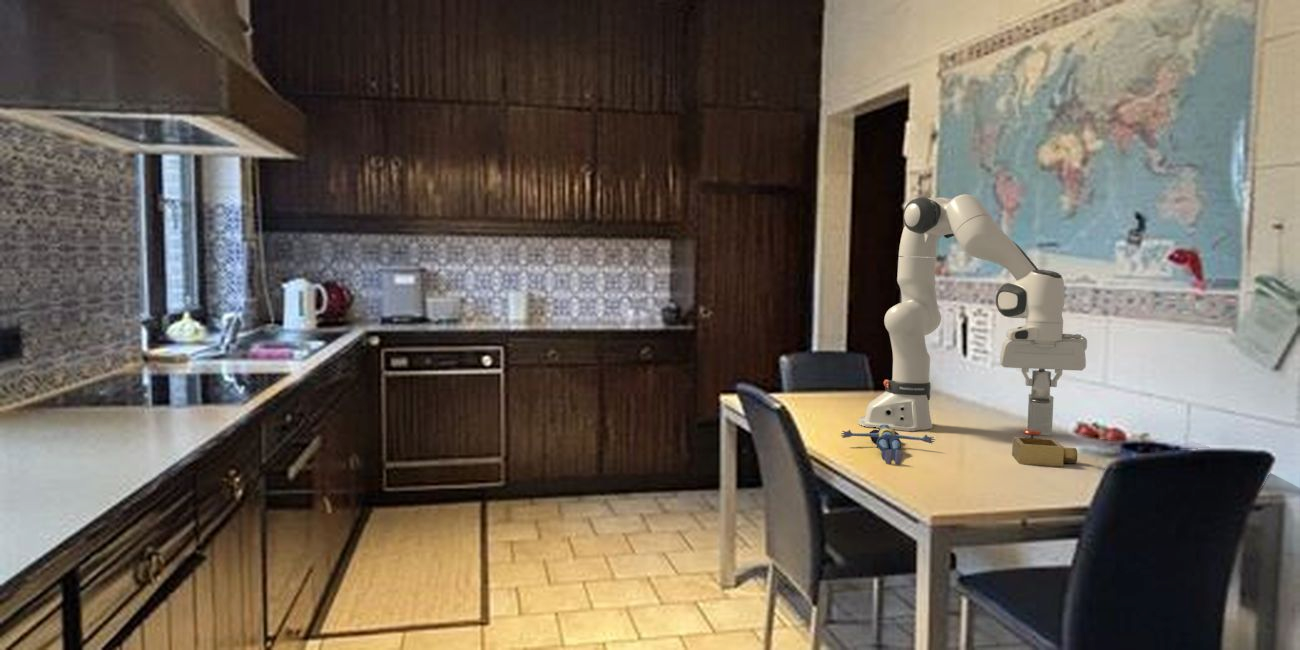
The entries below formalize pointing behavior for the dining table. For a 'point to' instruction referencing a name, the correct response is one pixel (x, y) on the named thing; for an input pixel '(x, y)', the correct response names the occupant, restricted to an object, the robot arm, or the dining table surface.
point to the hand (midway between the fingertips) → (1040, 386)
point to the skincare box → (1040, 416)
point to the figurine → (888, 442)
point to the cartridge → (1041, 386)
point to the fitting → (1041, 451)
